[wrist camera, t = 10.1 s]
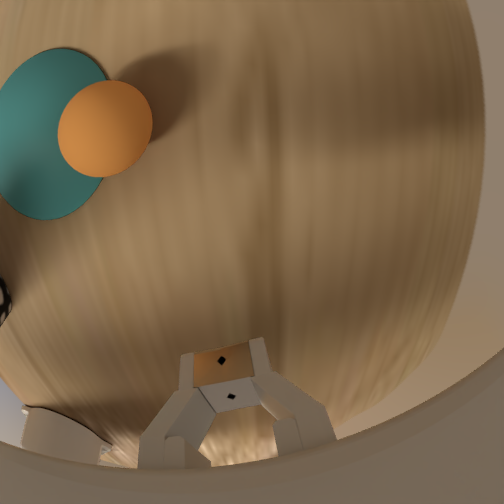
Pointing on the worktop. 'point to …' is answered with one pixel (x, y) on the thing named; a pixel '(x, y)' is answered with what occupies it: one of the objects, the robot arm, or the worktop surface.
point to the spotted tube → (4, 301)
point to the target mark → (42, 134)
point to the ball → (105, 128)
